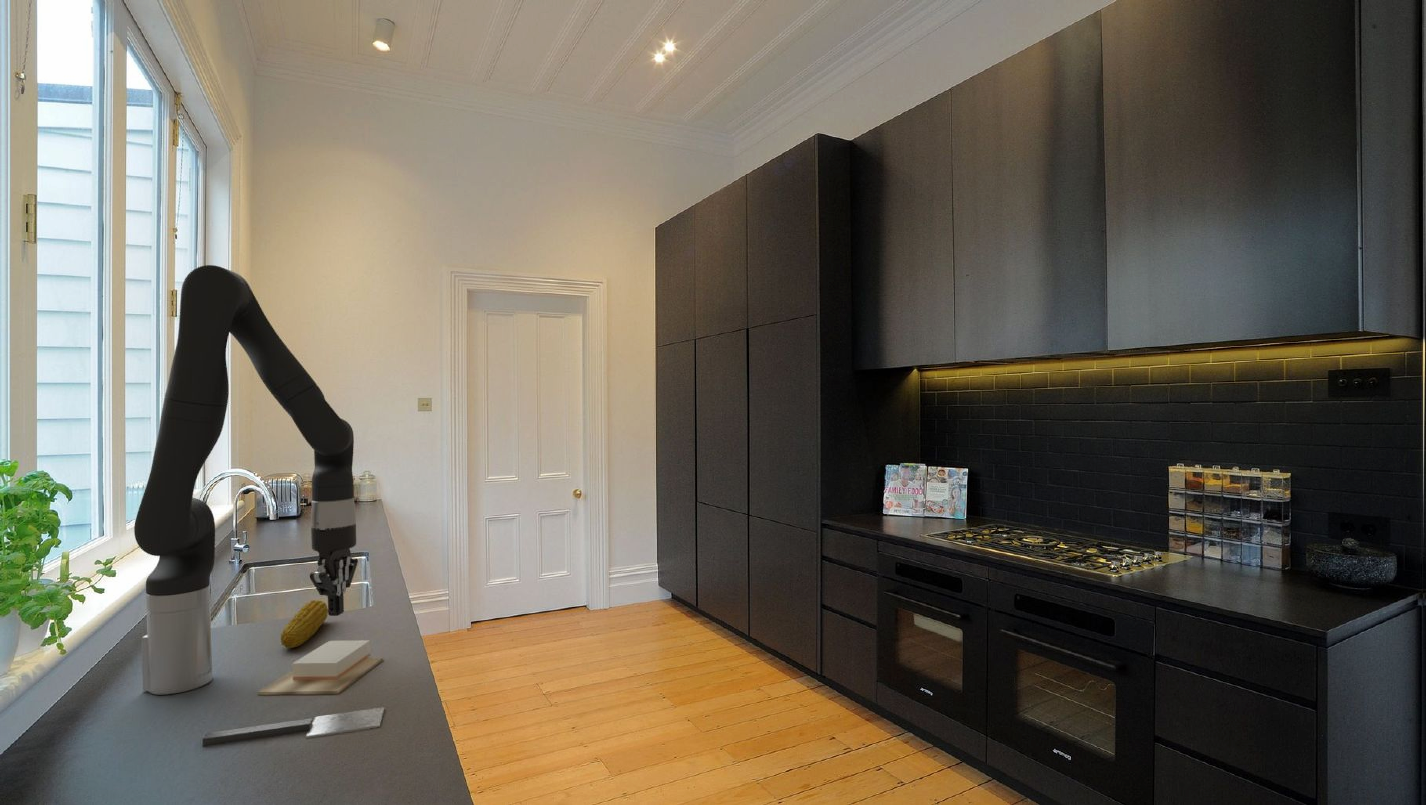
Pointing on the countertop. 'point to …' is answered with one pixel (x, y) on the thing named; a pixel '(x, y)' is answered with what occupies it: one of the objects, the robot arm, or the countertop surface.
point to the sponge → (331, 660)
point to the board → (318, 682)
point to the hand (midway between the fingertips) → (336, 614)
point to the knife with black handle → (302, 727)
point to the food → (304, 624)
